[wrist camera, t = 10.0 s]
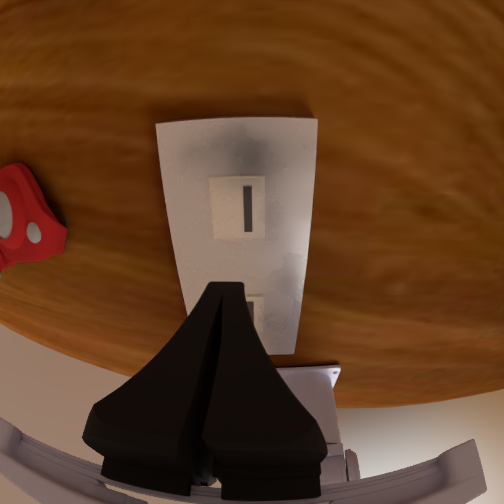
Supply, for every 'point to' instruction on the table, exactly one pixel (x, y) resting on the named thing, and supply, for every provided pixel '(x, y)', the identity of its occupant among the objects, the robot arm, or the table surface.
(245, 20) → the table surface
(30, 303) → the table surface
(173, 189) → the white slotted plate
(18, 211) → the tracker holder
